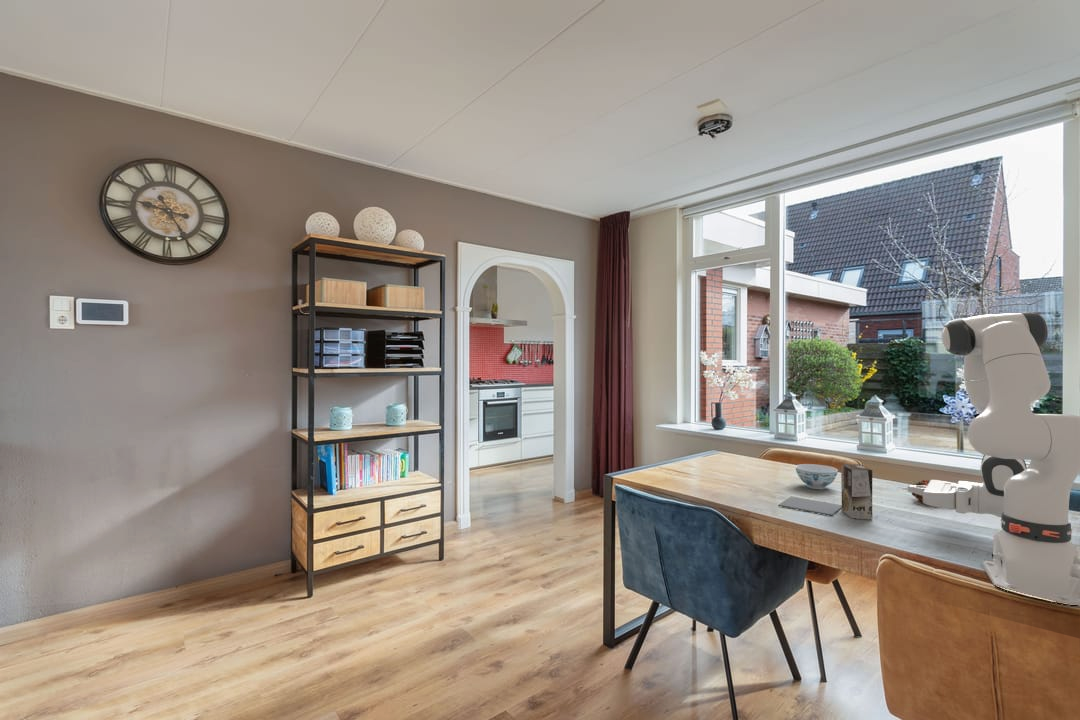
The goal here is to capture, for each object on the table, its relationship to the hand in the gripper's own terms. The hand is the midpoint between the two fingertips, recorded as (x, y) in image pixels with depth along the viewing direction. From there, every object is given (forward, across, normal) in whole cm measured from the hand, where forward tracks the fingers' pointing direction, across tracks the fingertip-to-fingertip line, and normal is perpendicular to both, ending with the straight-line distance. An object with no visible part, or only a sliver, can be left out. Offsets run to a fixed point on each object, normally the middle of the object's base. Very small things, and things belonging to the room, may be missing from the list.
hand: (908, 488), depth 159 cm
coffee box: (+14, 0, +12) cm, 18 cm away
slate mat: (+28, 0, +11) cm, 30 cm away
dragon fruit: (-1, -34, +12) cm, 36 cm away
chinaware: (+34, -30, +12) cm, 47 cm away
